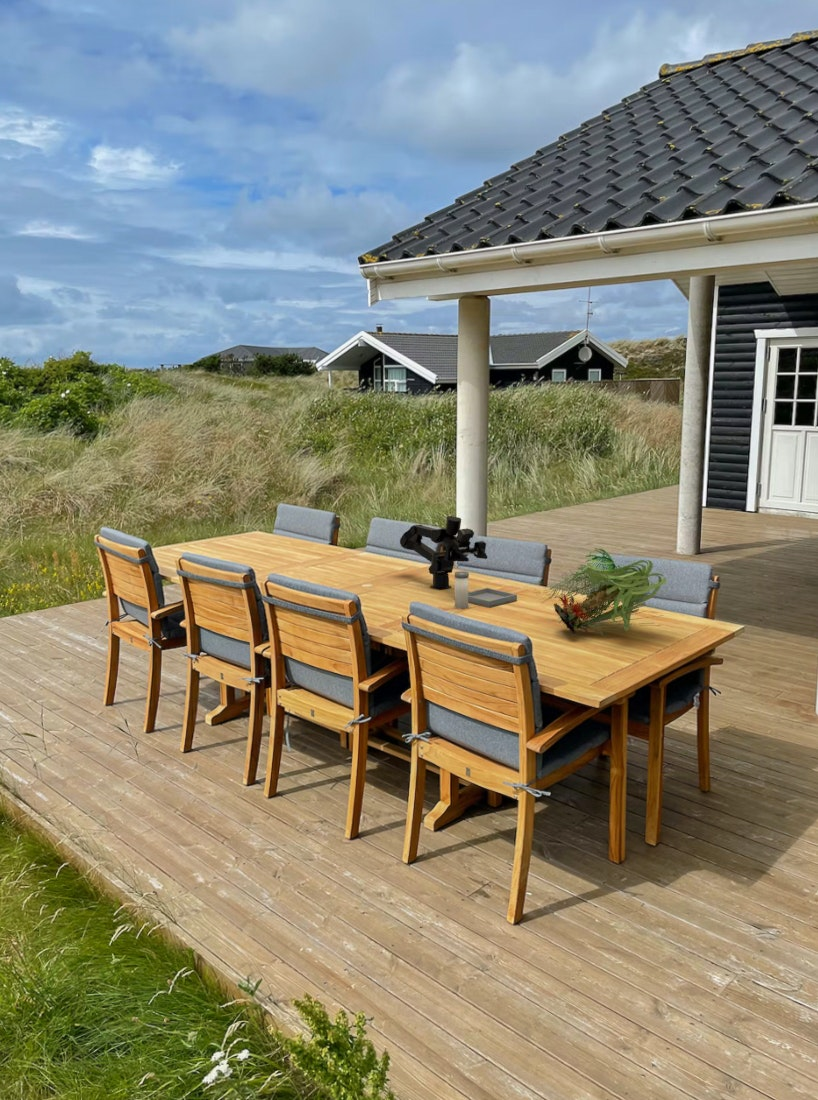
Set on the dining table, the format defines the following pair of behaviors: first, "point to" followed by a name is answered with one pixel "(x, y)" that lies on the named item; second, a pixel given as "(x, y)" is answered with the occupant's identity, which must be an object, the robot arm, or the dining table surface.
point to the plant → (605, 593)
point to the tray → (490, 597)
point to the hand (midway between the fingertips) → (477, 558)
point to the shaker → (461, 589)
